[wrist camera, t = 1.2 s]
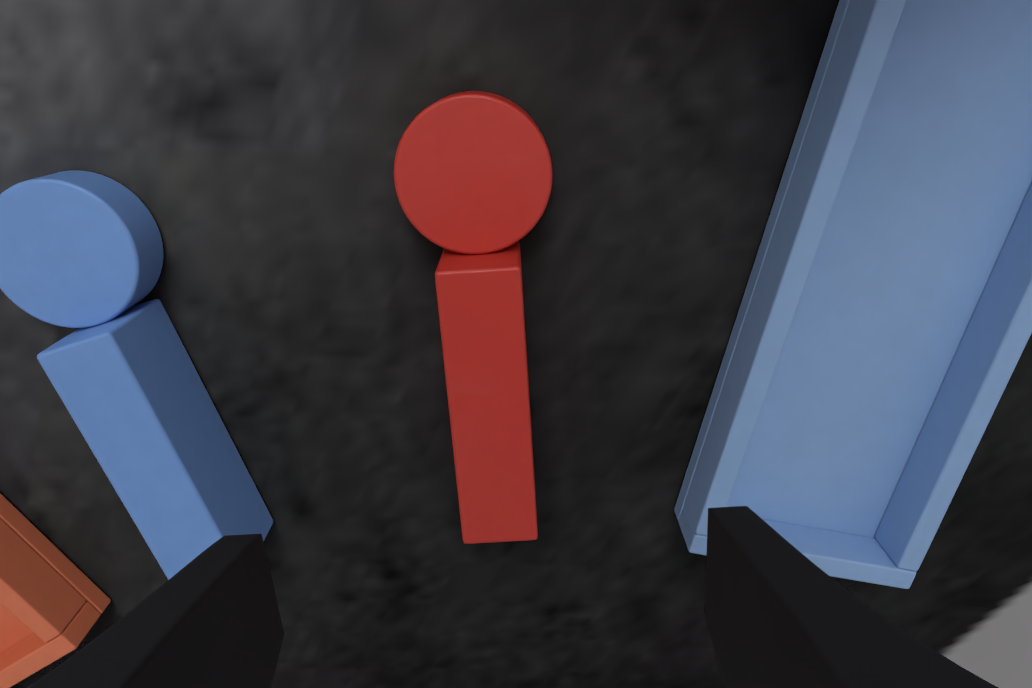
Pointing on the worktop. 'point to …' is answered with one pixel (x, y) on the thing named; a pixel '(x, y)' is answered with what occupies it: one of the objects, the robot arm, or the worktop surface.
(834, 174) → the blue rest
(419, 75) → the worktop surface
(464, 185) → the red spoon
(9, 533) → the orange tray
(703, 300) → the worktop surface
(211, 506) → the blue spoon
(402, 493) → the worktop surface
